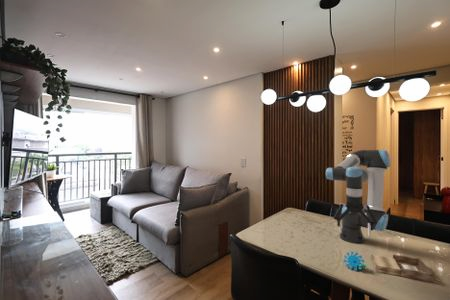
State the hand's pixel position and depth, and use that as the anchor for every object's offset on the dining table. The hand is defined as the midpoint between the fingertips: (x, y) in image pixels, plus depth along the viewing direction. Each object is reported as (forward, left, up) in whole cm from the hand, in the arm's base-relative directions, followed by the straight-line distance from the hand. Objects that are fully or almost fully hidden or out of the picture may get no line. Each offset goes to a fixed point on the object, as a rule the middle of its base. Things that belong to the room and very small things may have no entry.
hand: (354, 234), depth 117 cm
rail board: (+21, +8, -19) cm, 30 cm away
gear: (0, 0, -19) cm, 19 cm away
